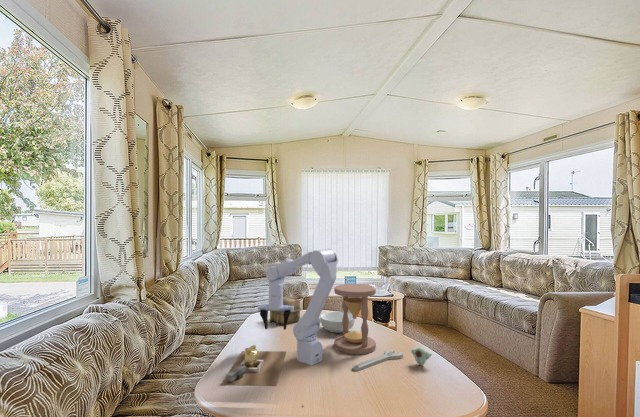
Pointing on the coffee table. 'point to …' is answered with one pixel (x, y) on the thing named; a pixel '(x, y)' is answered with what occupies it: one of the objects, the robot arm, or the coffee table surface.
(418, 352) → the robot head
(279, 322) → the miniature house
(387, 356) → the adjustable wrench
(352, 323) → the cereal bowl
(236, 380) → the tan wooden flat board
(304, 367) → the coffee table surface
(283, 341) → the coffee table surface
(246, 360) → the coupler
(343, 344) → the hourglass
